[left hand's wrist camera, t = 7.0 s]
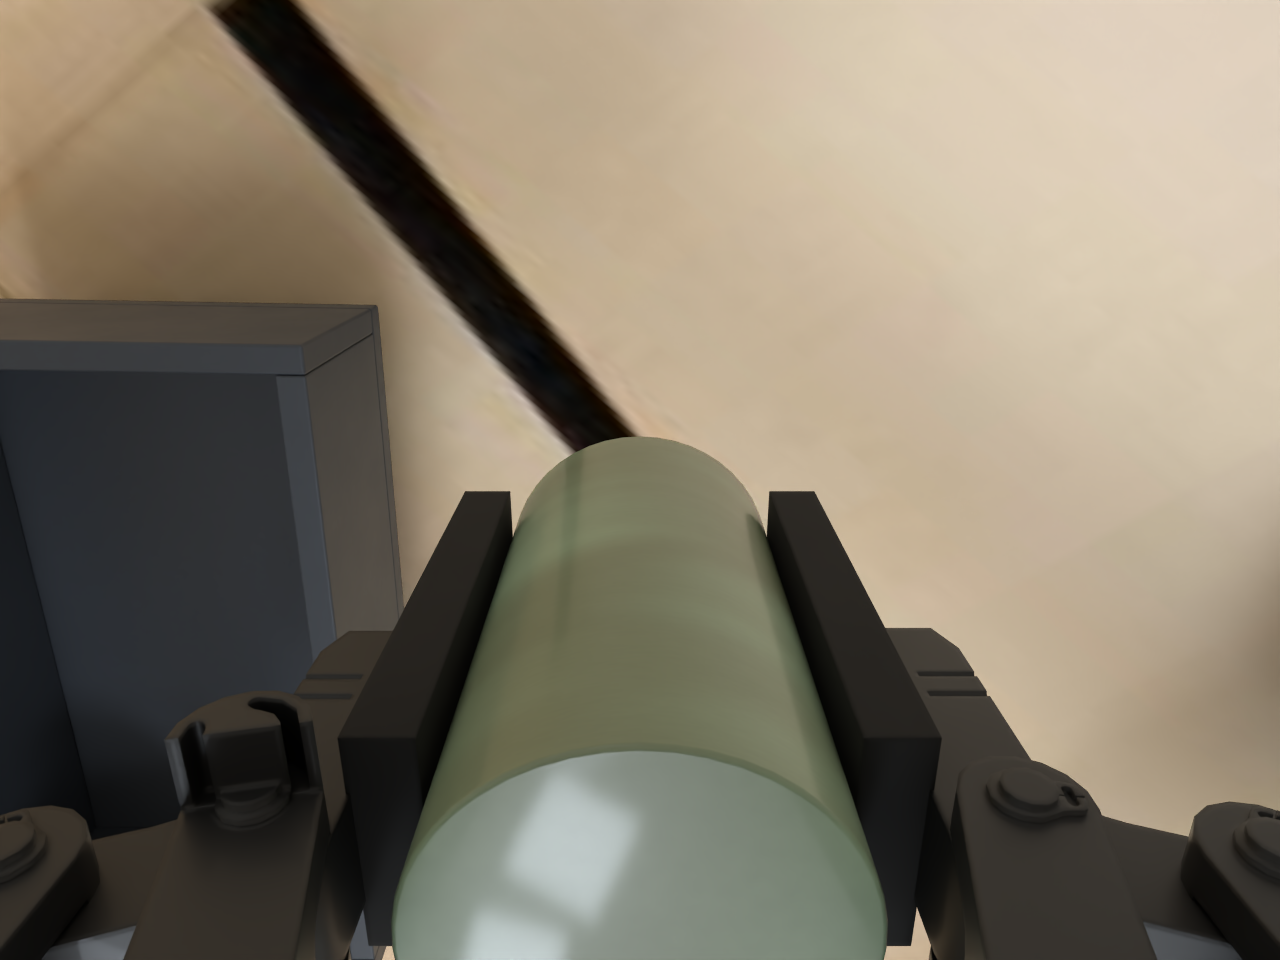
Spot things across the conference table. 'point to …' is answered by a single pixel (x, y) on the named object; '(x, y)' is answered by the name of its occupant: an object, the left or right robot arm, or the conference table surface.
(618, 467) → the peg
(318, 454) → the bin
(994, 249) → the conference table surface
